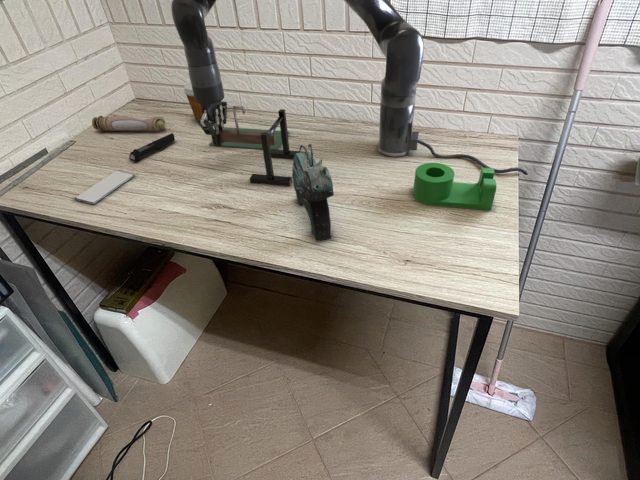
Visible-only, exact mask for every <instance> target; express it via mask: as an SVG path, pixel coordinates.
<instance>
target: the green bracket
mask: <svg viewBox="0 0 640 480" xmlns="http://www.w3.org/2000/svg"><path fill="white" fill-rule="evenodd" d="M494 169H495V168H493V167H490V168H483V167H481V168H480V173H479V178H478V181H477V182H476V183H471V182H469V183H468V182H455V175H456V173H455V171H454V169H453V168H452V167H451V166H449V165H447V164H444V163H440V162H425V163H422V164H420V165H418V166H416V168H415V172H414V180H413V190H412V196H413V198H414V199H415V200H416V202H418V203H420V204H423V205H425V206H435V207H446V208H447V207H448V208H458V209H460V208H461V209H469V210H470V209H471V210H483V211H492V208H493V204H494V200H495V195H496V192H497V180H496V178H495V174H496V173H494Z"/></svg>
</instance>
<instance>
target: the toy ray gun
mask: <svg viewBox="0 0 640 480" xmlns="http://www.w3.org/2000/svg"><path fill="white" fill-rule="evenodd" d="M307 147H308V149H309V148H310V149H309V150H310V152H309V151H308V149H307V148H306V146H305V145H304V144H301V145H300V146H299V150H298V151H299V153H296V154H295V155H294V159H292V160H293V161H292V166H291V167H292V171H291V172H292V175H291V177H292V184H293V189H294V191H295V195H296V196H295V197H296V200H297V203H298V205H299V206H303V207H304V209H305V212H306V213H307V216H308V219H309V222H310V230H311V234H312V236H313V237H314V240H315V242H319V241H325V240H328V239H331V238H332V237H331V236H332V234H331V233H332V231H331V230H332V229H331V227H332V225H331V224H332V222H331V214H330V207H329V202H328V201H329V200H328V198H331V197H334V195H335V193H334V185H333V179H332V176H331V172H330V170H329V169H328V168H327V166H325V165H323V158H321V159H320V160H319V161H316V159H315V157H314V150H313V145H312V143H309V144H308V145H307ZM302 149H304V152H301V151H302Z"/></svg>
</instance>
